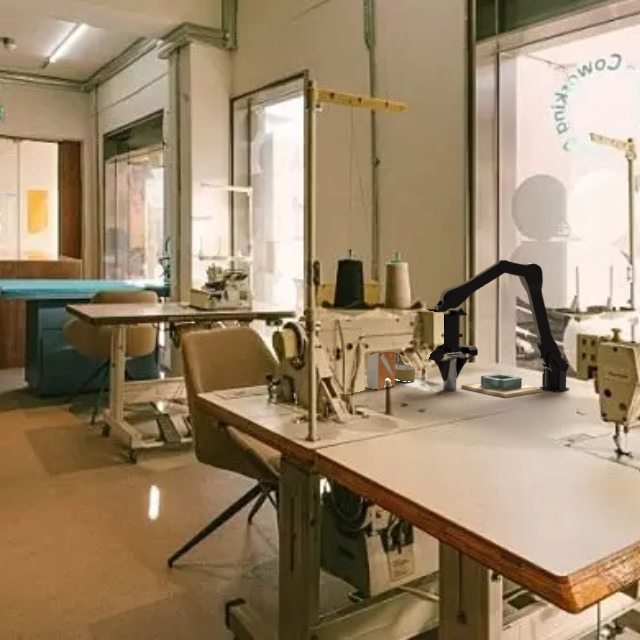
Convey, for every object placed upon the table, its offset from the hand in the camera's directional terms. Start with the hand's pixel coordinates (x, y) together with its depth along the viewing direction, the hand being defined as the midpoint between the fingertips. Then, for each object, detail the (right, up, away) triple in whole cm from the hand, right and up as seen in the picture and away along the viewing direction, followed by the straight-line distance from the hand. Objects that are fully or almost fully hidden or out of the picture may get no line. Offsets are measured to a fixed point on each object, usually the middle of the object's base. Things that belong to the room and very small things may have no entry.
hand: (449, 380), depth 230 cm
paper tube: (-12, -2, +16) cm, 20 cm away
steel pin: (0, -3, 0) cm, 3 cm away
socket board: (+16, -3, 0) cm, 16 cm away
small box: (-21, -3, +5) cm, 22 cm away
